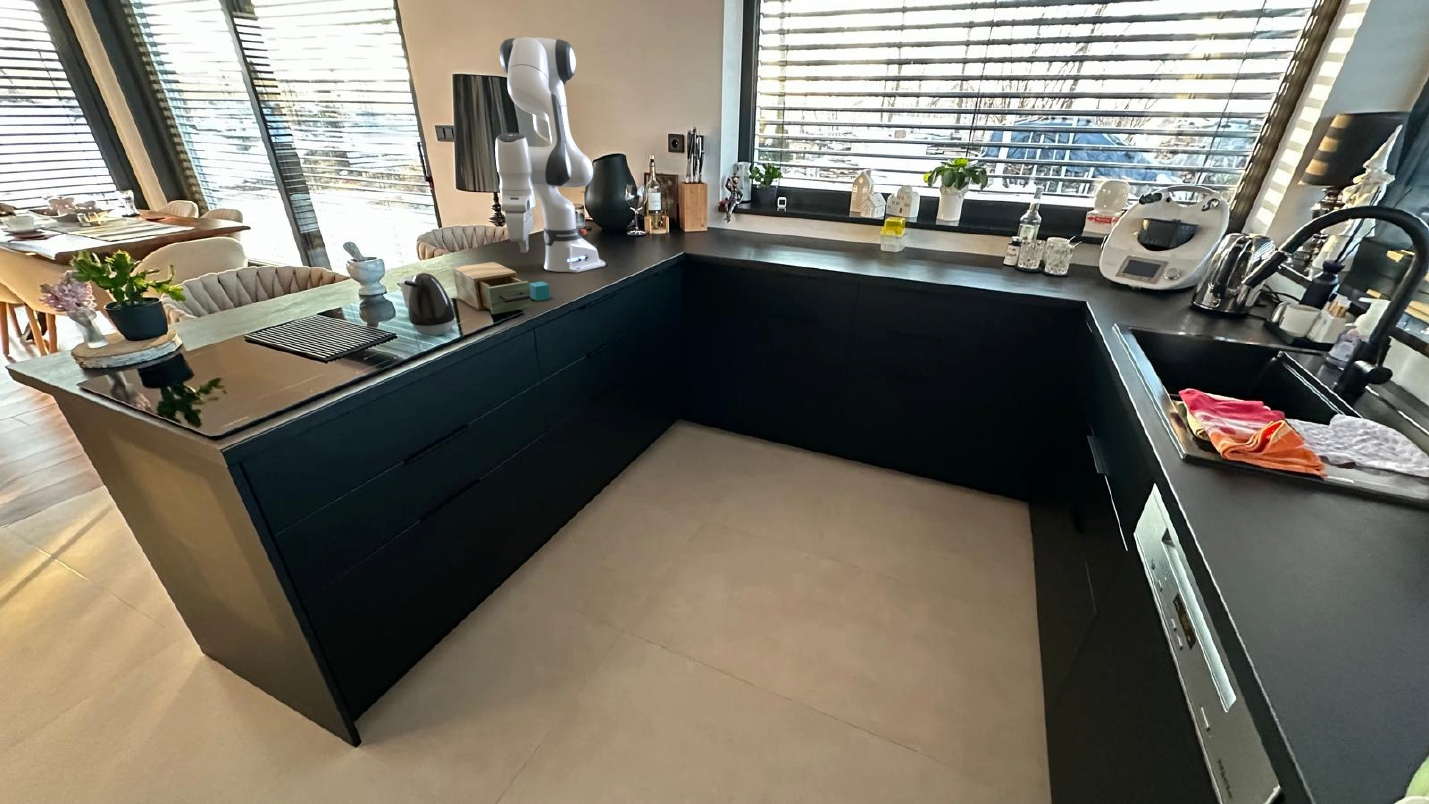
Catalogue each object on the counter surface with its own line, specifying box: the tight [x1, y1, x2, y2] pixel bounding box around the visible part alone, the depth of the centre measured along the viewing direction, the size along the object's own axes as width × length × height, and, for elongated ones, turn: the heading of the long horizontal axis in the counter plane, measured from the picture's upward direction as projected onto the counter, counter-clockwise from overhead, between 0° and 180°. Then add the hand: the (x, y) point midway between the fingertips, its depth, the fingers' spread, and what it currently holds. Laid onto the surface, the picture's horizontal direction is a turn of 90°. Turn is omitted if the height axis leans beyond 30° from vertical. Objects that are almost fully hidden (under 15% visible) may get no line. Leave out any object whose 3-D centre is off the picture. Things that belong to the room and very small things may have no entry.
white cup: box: [398, 275, 416, 314], centre depth 149 cm, size 8×8×10 cm
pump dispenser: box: [404, 272, 456, 337], centre depth 137 cm, size 10×10×15 cm
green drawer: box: [477, 276, 533, 315], centre depth 157 cm, size 19×11×7 cm, turn 43°
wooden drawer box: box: [452, 261, 519, 311], centre depth 165 cm, size 16×13×9 cm
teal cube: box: [529, 281, 551, 302], centre depth 169 cm, size 4×4×4 cm
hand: (524, 251), depth 157 cm, fingers closed
